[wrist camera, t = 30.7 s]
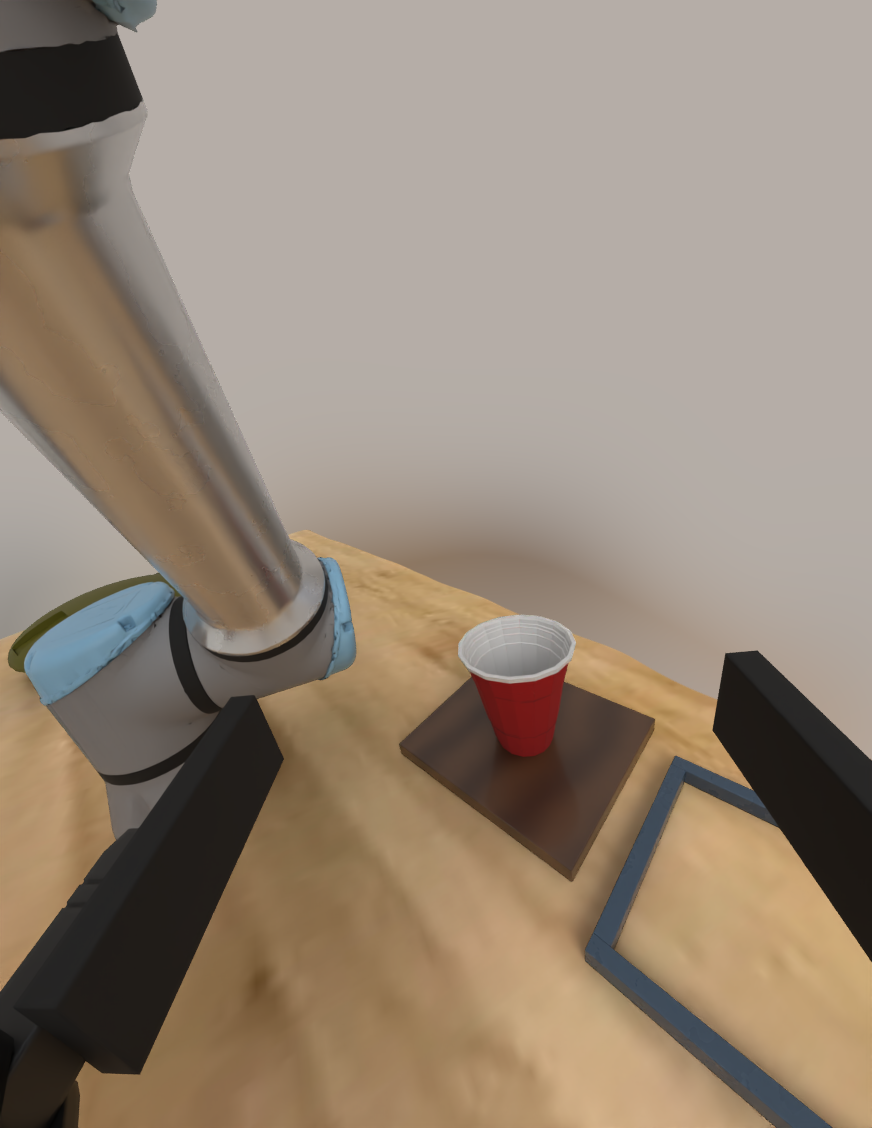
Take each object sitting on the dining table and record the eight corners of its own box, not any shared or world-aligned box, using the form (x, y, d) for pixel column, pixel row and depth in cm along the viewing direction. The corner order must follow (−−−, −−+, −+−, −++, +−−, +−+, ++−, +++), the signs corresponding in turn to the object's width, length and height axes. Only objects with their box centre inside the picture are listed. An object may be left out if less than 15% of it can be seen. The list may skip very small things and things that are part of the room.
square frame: (585, 961, 27) (584, 950, 27) (673, 765, 39) (675, 754, 38) (1065, 1380, 15) (1086, 1378, 14) (991, 914, 26) (1000, 901, 26)
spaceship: (191, 580, 103) (174, 544, 99) (257, 603, 85) (239, 561, 81) (10, 663, 79) (-22, 621, 75) (48, 721, 61) (9, 669, 56)
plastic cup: (552, 686, 48) (548, 599, 43) (598, 763, 38) (599, 662, 33) (463, 707, 48) (447, 621, 43) (486, 791, 38) (470, 692, 33)
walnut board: (401, 753, 45) (398, 744, 44) (497, 662, 56) (496, 653, 55) (571, 882, 32) (571, 871, 31) (654, 729, 43) (655, 718, 42)
